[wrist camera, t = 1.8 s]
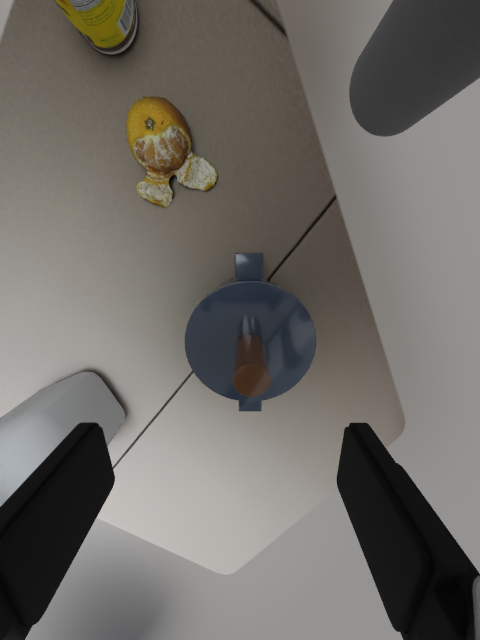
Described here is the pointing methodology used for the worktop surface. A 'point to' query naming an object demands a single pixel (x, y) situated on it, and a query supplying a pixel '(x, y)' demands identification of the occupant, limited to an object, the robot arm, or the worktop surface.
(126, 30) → the supplement bottle
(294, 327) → the lid
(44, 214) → the worktop surface
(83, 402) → the soap bottle
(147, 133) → the fruit
